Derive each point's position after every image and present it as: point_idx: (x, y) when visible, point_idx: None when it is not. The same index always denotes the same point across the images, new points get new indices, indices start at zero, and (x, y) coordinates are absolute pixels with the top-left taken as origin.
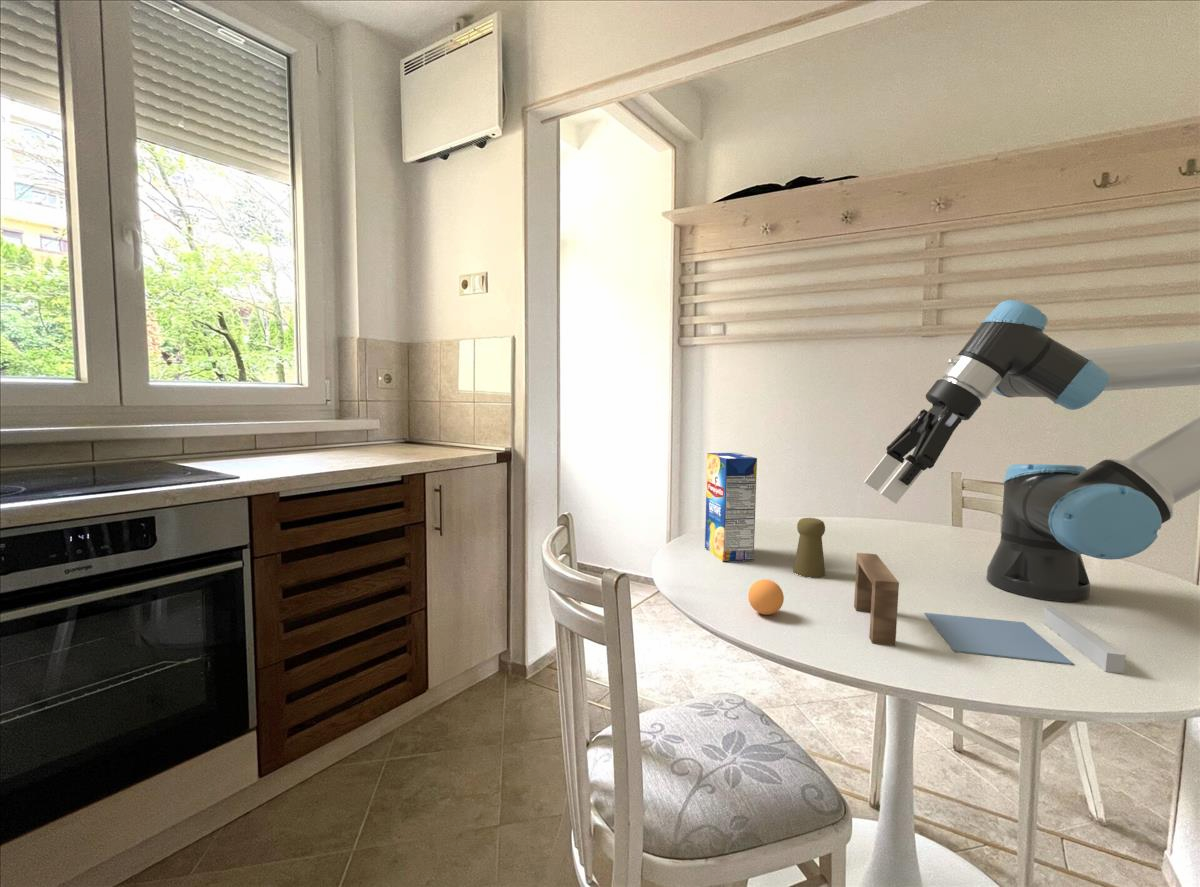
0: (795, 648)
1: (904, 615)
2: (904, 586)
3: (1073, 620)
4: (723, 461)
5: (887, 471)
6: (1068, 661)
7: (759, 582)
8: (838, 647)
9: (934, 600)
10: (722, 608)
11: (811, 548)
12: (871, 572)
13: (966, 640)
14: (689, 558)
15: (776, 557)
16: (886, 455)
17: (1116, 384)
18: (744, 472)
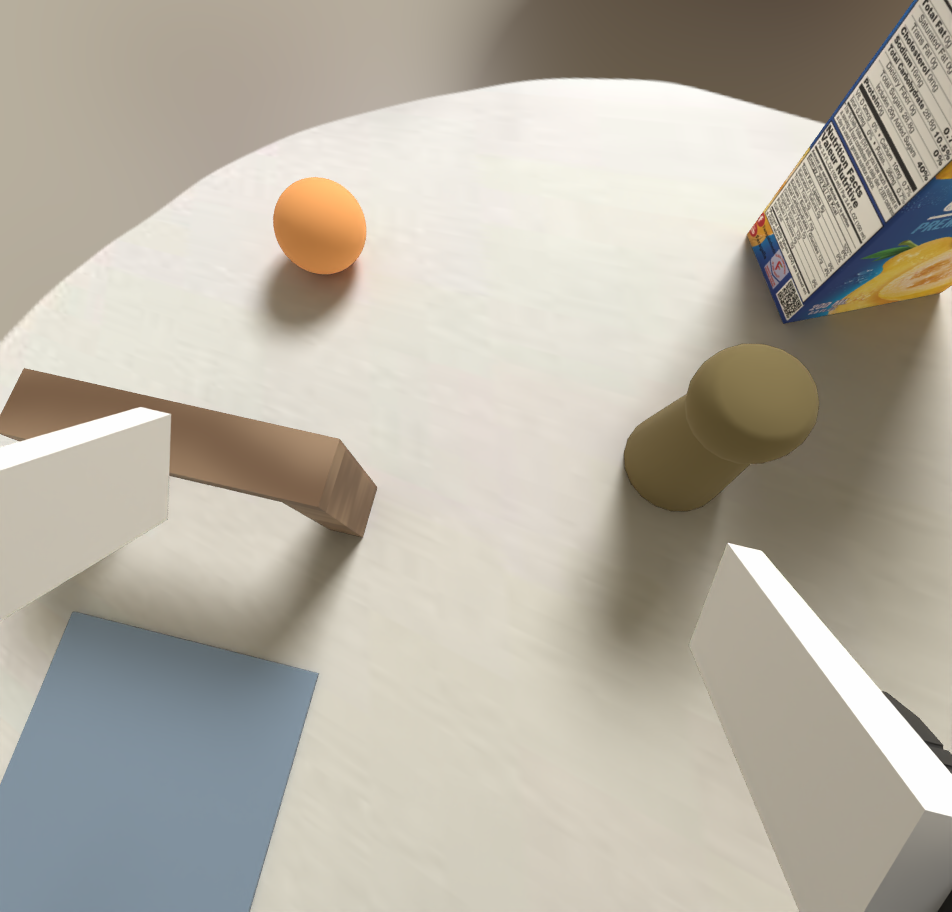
0: (142, 268)
1: (310, 604)
2: (572, 746)
3: None
4: None
5: (765, 754)
6: None
7: (306, 181)
8: (136, 353)
9: (435, 781)
10: (365, 175)
11: (668, 420)
12: (102, 389)
13: (122, 683)
14: (766, 153)
15: (843, 406)
16: (907, 791)
17: None
18: None
